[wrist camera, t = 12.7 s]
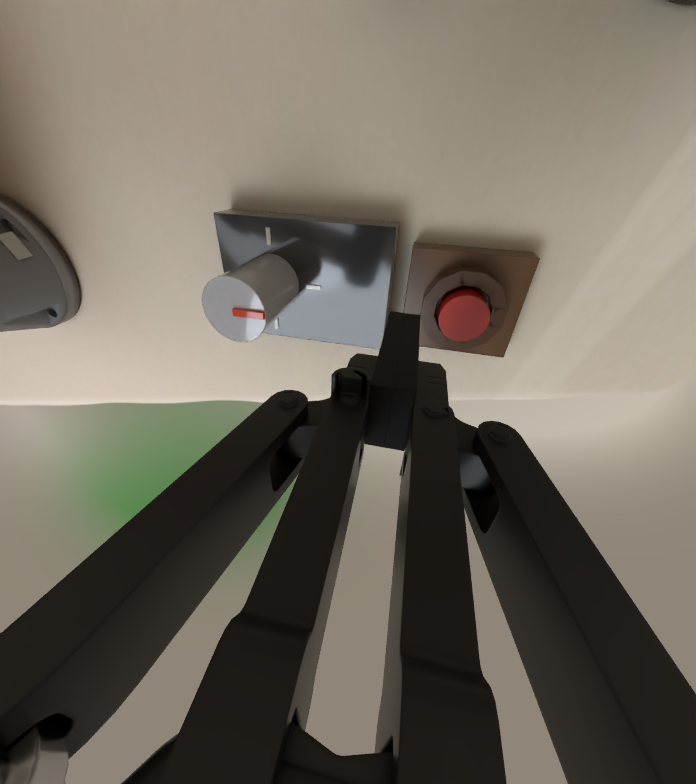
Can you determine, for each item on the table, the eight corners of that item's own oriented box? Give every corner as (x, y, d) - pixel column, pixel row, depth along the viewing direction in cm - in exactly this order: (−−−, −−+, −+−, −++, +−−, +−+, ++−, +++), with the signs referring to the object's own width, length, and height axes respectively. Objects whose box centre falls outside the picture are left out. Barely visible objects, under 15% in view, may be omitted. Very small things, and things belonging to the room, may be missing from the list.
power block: (400, 334, 34) (397, 352, 31) (414, 242, 29) (411, 251, 26) (499, 347, 32) (507, 367, 29) (533, 252, 27) (546, 263, 24)
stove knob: (251, 305, 32) (207, 339, 26) (243, 250, 29) (192, 273, 23) (300, 312, 32) (267, 348, 25) (297, 256, 29) (259, 281, 22)
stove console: (247, 318, 37) (233, 329, 34) (230, 209, 30) (212, 212, 28) (385, 336, 34) (382, 350, 32) (399, 222, 28) (396, 227, 26)
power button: (434, 330, 29) (434, 338, 28) (443, 285, 27) (444, 292, 25) (479, 335, 29) (482, 344, 27) (493, 291, 26) (497, 298, 25)
